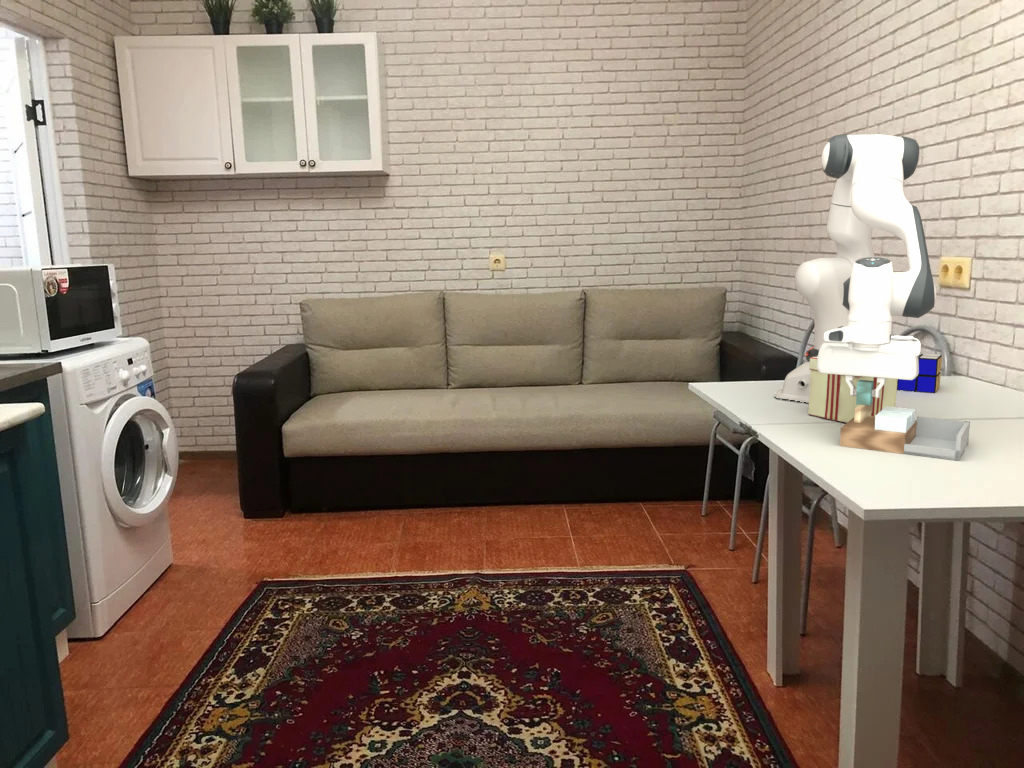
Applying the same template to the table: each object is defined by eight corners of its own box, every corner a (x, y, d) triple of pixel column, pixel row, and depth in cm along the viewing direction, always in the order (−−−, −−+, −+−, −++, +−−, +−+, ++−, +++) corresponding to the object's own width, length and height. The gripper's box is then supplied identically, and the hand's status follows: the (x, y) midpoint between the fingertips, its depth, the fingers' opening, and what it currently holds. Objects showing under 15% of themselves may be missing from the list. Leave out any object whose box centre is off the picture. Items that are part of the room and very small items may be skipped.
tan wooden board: (839, 445, 167) (840, 427, 166) (856, 431, 179) (857, 414, 178) (903, 453, 160) (905, 435, 159) (916, 438, 172) (917, 420, 171)
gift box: (905, 417, 192) (910, 348, 189) (860, 427, 183) (864, 355, 180) (844, 405, 207) (848, 341, 204) (799, 415, 197) (802, 348, 194)
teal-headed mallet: (850, 421, 166) (852, 385, 165) (862, 411, 176) (864, 376, 174) (864, 423, 165) (866, 386, 163) (876, 412, 174) (878, 377, 173)
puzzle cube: (896, 390, 225) (898, 356, 224) (902, 385, 233) (904, 352, 232) (935, 393, 220) (938, 358, 218) (939, 388, 228) (942, 354, 226)
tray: (903, 453, 160) (905, 430, 159) (916, 438, 172) (917, 416, 171) (959, 460, 154) (961, 436, 153) (968, 444, 166) (969, 421, 165)
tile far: (880, 423, 169) (881, 410, 168) (885, 419, 173) (885, 406, 172) (910, 427, 166) (911, 413, 165) (914, 422, 170) (915, 409, 169)
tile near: (874, 429, 164) (875, 415, 164) (879, 424, 168) (880, 411, 168) (905, 432, 161) (906, 418, 160) (910, 428, 165) (911, 414, 164)
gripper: (924, 334, 164) (919, 398, 166) (823, 330, 175) (820, 390, 178) (919, 337, 159) (914, 403, 161) (816, 333, 170) (813, 394, 173)
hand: (864, 396), depth 170 cm, fingers closed on teal-headed mallet, 3 cm apart
